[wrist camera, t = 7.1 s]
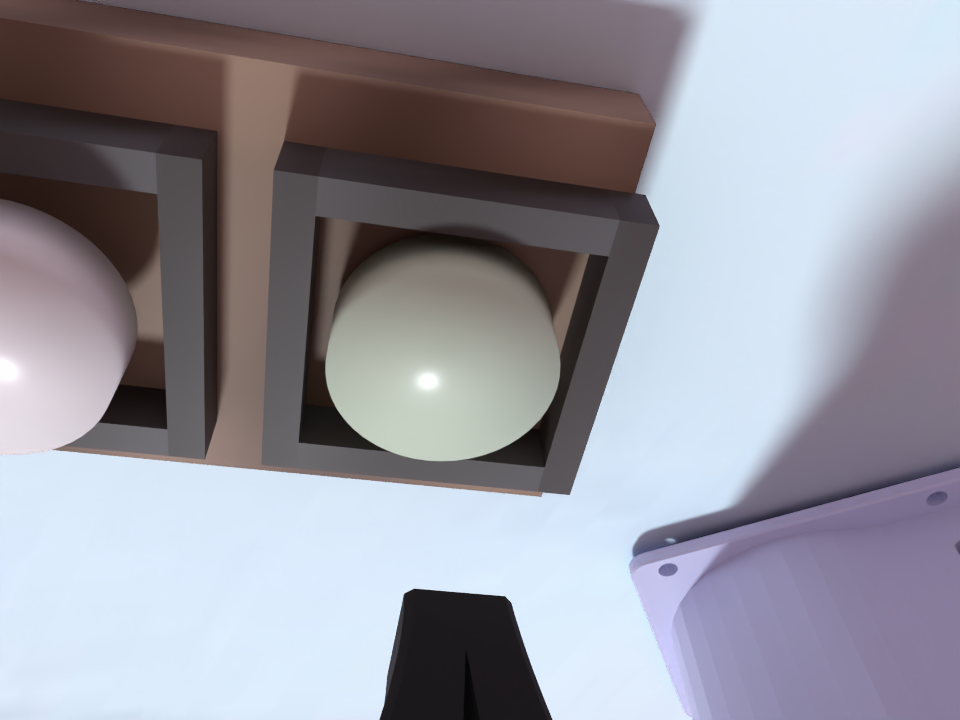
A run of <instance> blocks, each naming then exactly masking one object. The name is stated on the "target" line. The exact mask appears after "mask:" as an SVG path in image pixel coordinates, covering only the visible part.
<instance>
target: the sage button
mask: <svg viewBox="0 0 960 720" xmlns="http://www.w3.org/2000/svg"><path fill="white" fill-rule="evenodd" d="M325 374H326V381H327V386H328V390H329V393H330V396H331V398H332V400H333V402H334V404H335V406H336V408H337V410H338V411H339V413H340V414H341V415H342V417H343V418H344V420H345V421H346V422H347V423H348V424H349V425H350V426H351V427H352V428H353V429H354V430H355V431H356V432H358V433H359V434H360V435H361V436H362V437H364V438H365V439H367V440H368V441H370V442H372V443H373V444H375V445H377V446H379V447H381V448H383V449H385V450H387V451H390V452H393V453H395V454H398V455H401V456H405V457H409V458H413V459H420V460H427V461H457V460H464V459H470V458H474V457H478V456H482V455H485V454H488V453H491V452H494V451H497V450H499V449H501V448H503V447H505V446H507V445H509V444H511V443H512V442H514V441H515V440H517V439H519V438H520V437H521V436H523V435H524V434H525V433H526V432H528V431H529V430H530V429H531V428H532V427H533V426H534V425H535V424H536V423H537V422H538V421H539V420H540V419H541V417H542V416H543V415H544V413H545V412H546V411H547V409H548V407H549V406H550V404H551V402H552V400H553V398H554V395H555V393H556V390H557V387H558V382H559V377H560V356H559V350H558V345H557V340H556V335H555V330H554V325H553V321H552V316H551V311H550V307H549V303H548V300H547V297H546V294H545V292H544V290H543V288H542V286H541V284H540V283H539V281H538V280H537V278H536V277H535V275H534V274H533V273H532V272H531V271H530V270H529V268H528V267H527V266H526V265H525V264H524V263H522V262H521V261H520V260H519V259H518V258H517V257H515V256H514V255H512V254H511V253H509V252H508V251H506V250H505V249H503V248H501V247H499V246H497V245H494V244H492V243H490V242H487V241H484V240H481V239H478V238H471V237H464V236H457V235H449V234H427V235H421V236H414V237H411V238H407V239H404V240H400V241H398V242H395V243H393V244H391V245H388V246H386V247H384V248H383V249H381V250H379V251H377V252H376V253H374V254H373V255H371V256H370V257H369V258H367V259H366V260H365V261H363V262H362V263H361V264H360V265H359V266H358V267H357V268H356V269H355V270H354V271H353V272H352V274H351V275H350V276H349V278H348V279H347V281H346V282H345V284H344V285H343V287H342V289H341V291H340V293H339V295H338V298H337V301H336V304H335V308H334V314H333V320H332V326H331V332H330V338H329V344H328V350H327V356H326V368H325Z"/></svg>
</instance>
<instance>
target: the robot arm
mask: <svg viewBox="0 0 960 720" xmlns="http://www.w3.org/2000/svg"><path fill="white" fill-rule="evenodd" d="M664 564H667V565H664ZM629 569H630V573H631V578H632V580H633V583H634V585H635V588H636V590H637V593H638V596H639V598H640V601H641V603H642V606H643V608H644V611H645V613H646V616H647V619H648V621H649V624H650V626H651V629H652V631H653V634H654V636H655V639H656V641H657V644H658V647H659V649H660V652H661V654H662V657H663V659H664V662H665V664H666V667H667V669H668V672H669V675H670V677H671V680H672V682H673V685H674V687H675V690H676V692H677V695H678V697H679V700H680V703H681V705H682V708H683V710H684V712H685V713H686V715H688V716H691V717H692V719H693V720H960V468H956V469H952V470H949V471H945V472H941V473H938V474H934V475H930V476H926V477H923V478H919V479H915V480H912V481H908V482H904V483H900V484H897V485H893V486H889V487H886V488H882V489H878V490H875V491H871V492H867V493H863V494H860V495H856V496H852V497H849V498H845V499H841V500H837V501H834V502H830V503H826V504H823V505H819V506H815V507H811V508H808V509H804V510H800V511H797V512H793V513H789V514H786V515H782V516H778V517H774V518H771V519H767V520H763V521H760V522H756V523H752V524H748V525H745V526H741V527H737V528H734V529H730V530H726V531H722V532H719V533H715V534H711V535H708V536H704V537H700V538H697V539H693V540H689V541H685V542H682V543H678V544H674V545H671V546H667V547H663V548H659V549H656V550H652V551H648V552H645V553H642V554H639V555H637V556H636V557H635V558H633V559H632V560H631V562H630V564H629ZM380 720H552V718H551V715H550V713H549V710H548V708H547V705H546V703H545V700H544V698H543V695H542V693H541V690H540V687H539V685H538V682H537V679H536V677H535V674H534V672H533V669H532V666H531V663H530V660H529V658H528V655H527V652H526V649H525V646H524V643H523V640H522V637H521V634H520V631H519V628H518V624H517V621H516V618H515V615H514V611H513V607H512V604H511V602H510V601H509V600H508V599H507V598H506V597H505V596H494V595H482V594H470V593H458V592H446V591H434V590H423V589H413V590H411V591H409V592H407V593H405V594H404V597H403V602H402V607H401V612H400V617H399V622H398V626H397V631H396V636H395V641H394V646H393V651H392V656H391V661H390V665H389V670H388V675H387V686H386V696H385V704H384V707H383V711H382V714H381V717H380Z"/></svg>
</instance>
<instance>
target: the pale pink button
mask: <svg viewBox="0 0 960 720" xmlns="http://www.w3.org/2000/svg"><path fill="white" fill-rule="evenodd" d="M137 336H138V322H137V315H136V309H135V306H134V303H133V299H132V296H131V294H130V292H129V290H128V288H127V285H126V283H125V282H124V280H123V278H122V277H121V275H120V274H119V272H118V271H117V269H116V268H115V267H114V265H113V264H112V263H111V262H110V260H109V259H108V258H107V257H106V256H105V255H104V254H103V253H102V252H101V251H100V250H99V249H98V248H97V247H96V246H95V245H94V244H93V243H92V242H91V241H89V240H88V239H87V238H86V237H84V236H83V235H82V234H81V233H79V232H78V231H76V230H75V229H73V228H72V227H70V226H69V225H67V224H66V223H64V222H62V221H60V220H58V219H57V218H55V217H53V216H51V215H49V214H47V213H45V212H42V211H40V210H37V209H35V208H32V207H30V206H27V205H23V204H20V203H17V202H13V201H9V200H4V199H0V454H6V455H18V454H32V453H39V452H44V451H48V450H52V449H56V448H59V447H61V446H64V445H66V444H69V443H71V442H73V441H75V440H76V439H78V438H80V437H82V436H83V435H84V434H86V433H87V432H88V431H89V430H91V429H92V428H93V427H94V426H95V425H96V424H97V423H98V421H99V420H100V419H101V418H102V416H103V414H104V413H105V411H106V410H107V408H108V406H109V404H110V402H111V400H112V397H113V395H114V393H115V391H116V389H117V387H118V385H119V383H120V381H121V379H122V377H123V374H124V372H125V370H126V368H127V366H128V364H129V362H130V360H131V357H132V355H133V352H134V350H135V346H136V341H137Z"/></svg>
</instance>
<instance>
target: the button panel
mask: <svg viewBox="0 0 960 720" xmlns="http://www.w3.org/2000/svg"><path fill="white" fill-rule="evenodd" d="M655 126H656V123H655V122H654V120H653V118H652V116H651V115H650V113H649V111H648V109H647V108H646V106H645V104H644V102H643V101H642V99H641V97H640V96H639V94H634V93H628V92H622V91H616V90H610V89H604V88H598V87H592V86H586V85H580V84H574V83H568V82H562V81H556V80H550V79H544V78H538V77H532V76H526V75H520V74H514V73H508V72H502V71H496V70H490V69H484V68H478V67H472V66H466V65H460V64H454V63H448V62H442V61H436V60H430V59H425V58H419V57H413V56H407V55H401V54H395V53H389V52H383V51H377V50H371V49H365V48H359V47H353V46H347V45H341V44H335V43H329V42H323V41H317V40H311V39H305V38H299V37H293V36H287V35H281V34H275V33H269V32H263V31H257V30H251V29H245V28H239V27H233V26H227V25H221V24H215V23H209V22H203V21H197V20H191V19H185V18H179V17H173V16H167V15H161V14H155V13H149V12H143V11H137V10H131V9H125V8H119V7H113V6H107V5H101V4H95V3H89V2H83V1H78V0H0V199H4V200H9V201H13V202H17V203H20V204H23V205H27V206H30V207H32V208H35V209H37V210H40V211H42V212H45V213H47V214H49V215H51V216H53V217H55V218H57V219H58V220H60V221H62V222H64V223H66V224H67V225H69V226H70V227H72V228H73V229H75V230H76V231H78V232H79V233H81V234H82V235H83V236H84V237H86V238H87V239H88V240H89V241H91V242H92V243H93V244H94V245H95V246H96V247H97V248H98V249H99V250H100V251H101V252H102V253H103V254H104V255H105V256H106V257H107V258H108V259H109V260H110V262H111V263H112V264H113V265H114V267H115V268H116V269H117V271H118V272H119V274H120V275H121V277H122V278H123V280H124V282H125V283H126V285H127V288H128V290H129V292H130V294H131V296H132V299H133V303H134V306H135V309H136V315H137V322H138V336H137V341H136V346H135V350H134V352H133V355H132V357H131V360H130V362H129V364H128V366H127V368H126V370H125V372H124V374H123V377H122V379H121V381H120V383H119V385H118V387H117V389H116V391H115V393H114V395H113V397H112V400H111V402H110V404H109V406H108V408H107V410H106V411H105V413H104V414H103V416H102V418H101V419H100V420H99V421H98V423H97V424H96V425H95V426H94V427H93V428H92V429H91V430H89V431H88V432H87V433H86V434H84V435H83V436H82V437H80V438H78V439H76V440H75V441H73V442H71V443H69V444H66V445H64V446H61V447H59V448H56V449H52V450H60V451H70V452H81V453H91V454H102V455H112V456H122V457H133V458H143V459H154V460H164V461H174V462H185V463H195V464H206V465H216V466H227V467H237V468H247V469H258V470H268V471H279V472H289V473H300V474H310V475H320V476H331V477H341V478H352V479H362V480H373V481H383V482H393V483H404V484H414V485H425V486H435V487H446V488H456V489H466V490H477V491H487V492H498V493H508V494H519V495H529V496H539V497H541V495H542V492H545V493H555V494H566V495H570V492H571V489H572V486H573V483H574V480H575V477H576V474H577V471H578V468H579V465H580V462H581V459H582V456H583V453H584V450H585V447H586V444H587V441H588V438H589V435H590V433H591V430H592V427H593V424H594V421H595V418H596V415H597V412H598V409H599V406H600V403H601V400H602V397H603V394H604V391H605V388H606V385H607V382H608V379H609V376H610V373H611V370H612V367H613V364H614V361H615V358H616V355H617V352H618V349H619V346H620V343H621V340H622V337H623V334H624V331H625V328H626V325H627V322H628V319H629V316H630V313H631V310H632V307H633V304H634V301H635V298H636V295H637V292H638V289H639V286H640V283H641V280H642V277H643V274H644V271H645V268H646V265H647V262H648V259H649V256H650V253H651V250H652V247H653V244H654V241H655V238H656V235H657V233H658V230H659V227H660V226H659V224H658V221H657V219H656V217H655V215H654V213H653V211H652V208H651V206H650V204H649V202H648V200H647V198H646V196H645V195H641V194H635V191H636V187H637V184H638V181H639V178H640V174H641V171H642V168H643V165H644V162H645V158H646V155H647V152H648V149H649V145H650V142H651V139H652V136H653V132H654V129H655ZM427 234H449V235H457V236H464V237H471V238H478V239H481V240H484V241H487V242H490V243H492V244H494V245H497V246H499V247H501V248H503V249H505V250H506V251H508V252H509V253H511V254H512V255H514V256H515V257H517V258H518V259H519V260H520V261H521V262H522V263H524V264H525V265H526V266H527V267H528V268H529V270H530V271H531V272H532V273H533V274H534V275H535V277H536V278H537V280H538V281H539V283H540V284H541V286H542V288H543V290H544V292H545V294H546V297H547V300H548V303H549V307H550V311H551V316H552V321H553V325H554V330H555V335H556V340H557V345H558V350H559V356H560V377H559V382H558V387H557V390H556V393H555V395H554V398H553V400H552V402H551V404H550V406H549V407H548V409H547V411H546V412H545V413H544V415H543V416H542V417H541V419H540V420H539V421H538V422H537V423H536V424H535V425H534V426H533V427H532V428H531V429H530V430H529V431H528V432H526V433H525V434H524V435H523V436H521V437H520V438H519V439H517V440H515V441H514V442H512V443H511V444H509V445H507V446H505V447H503V448H501V449H499V450H497V451H494V452H491V453H488V454H485V455H482V456H478V457H474V458H470V459H464V460H457V461H427V460H420V459H413V458H409V457H405V456H401V455H398V454H395V453H393V452H390V451H387V450H385V449H383V448H381V447H379V446H377V445H375V444H373V443H372V442H370V441H368V440H367V439H365V438H364V437H362V436H361V435H360V434H359V433H358V432H356V431H355V430H354V429H353V428H352V427H351V426H350V425H349V424H348V423H347V422H346V421H345V420H344V418H343V417H342V415H341V414H340V413H339V411H338V410H337V408H336V406H335V404H334V402H333V400H332V398H331V396H330V393H329V390H328V386H327V381H326V374H325V368H326V356H327V350H328V344H329V338H330V332H331V326H332V320H333V314H334V308H335V304H336V301H337V298H338V295H339V293H340V291H341V289H342V287H343V285H344V284H345V282H346V281H347V279H348V278H349V276H350V275H351V274H352V272H353V271H354V270H355V269H356V268H357V267H358V266H359V265H360V264H361V263H362V262H363V261H365V260H366V259H367V258H369V257H370V256H371V255H373V254H374V253H376V252H377V251H379V250H381V249H383V248H384V247H386V246H388V245H391V244H393V243H395V242H398V241H400V240H404V239H407V238H411V237H414V236H421V235H427Z"/></svg>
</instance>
